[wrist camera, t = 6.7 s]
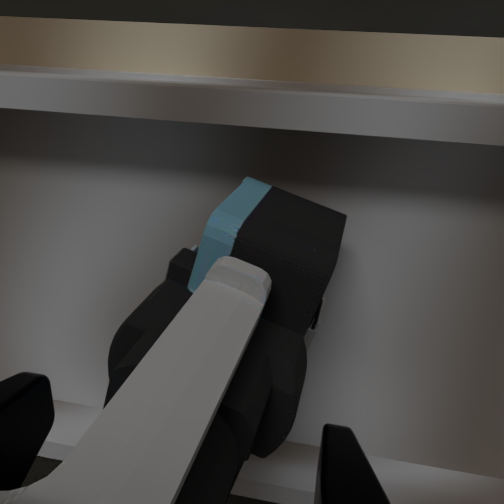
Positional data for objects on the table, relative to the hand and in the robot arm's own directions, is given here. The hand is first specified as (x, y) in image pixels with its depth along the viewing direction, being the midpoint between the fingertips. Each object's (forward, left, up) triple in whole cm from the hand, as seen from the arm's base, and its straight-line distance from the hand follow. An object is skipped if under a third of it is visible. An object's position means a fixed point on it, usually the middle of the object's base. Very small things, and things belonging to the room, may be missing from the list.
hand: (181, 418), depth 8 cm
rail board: (0, 0, -6) cm, 6 cm away
